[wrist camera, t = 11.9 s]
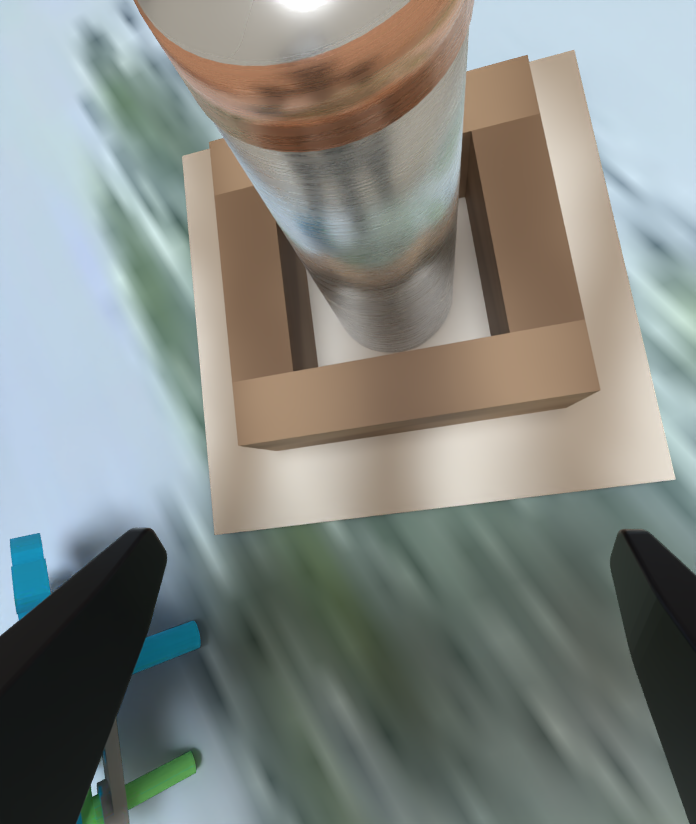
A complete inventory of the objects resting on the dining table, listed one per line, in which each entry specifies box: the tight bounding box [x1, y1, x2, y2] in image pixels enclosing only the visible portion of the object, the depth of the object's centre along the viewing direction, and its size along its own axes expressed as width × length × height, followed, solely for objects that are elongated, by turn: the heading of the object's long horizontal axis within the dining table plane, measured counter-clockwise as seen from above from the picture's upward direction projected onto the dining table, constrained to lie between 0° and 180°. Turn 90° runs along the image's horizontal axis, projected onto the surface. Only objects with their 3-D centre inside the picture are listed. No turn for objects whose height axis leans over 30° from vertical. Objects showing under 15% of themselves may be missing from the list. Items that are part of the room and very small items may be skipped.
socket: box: [182, 50, 675, 535], centre depth 16 cm, size 16×16×4 cm
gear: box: [10, 533, 201, 824], centre depth 16 cm, size 11×6×10 cm
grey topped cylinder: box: [134, 0, 474, 352], centre depth 12 cm, size 4×4×12 cm
